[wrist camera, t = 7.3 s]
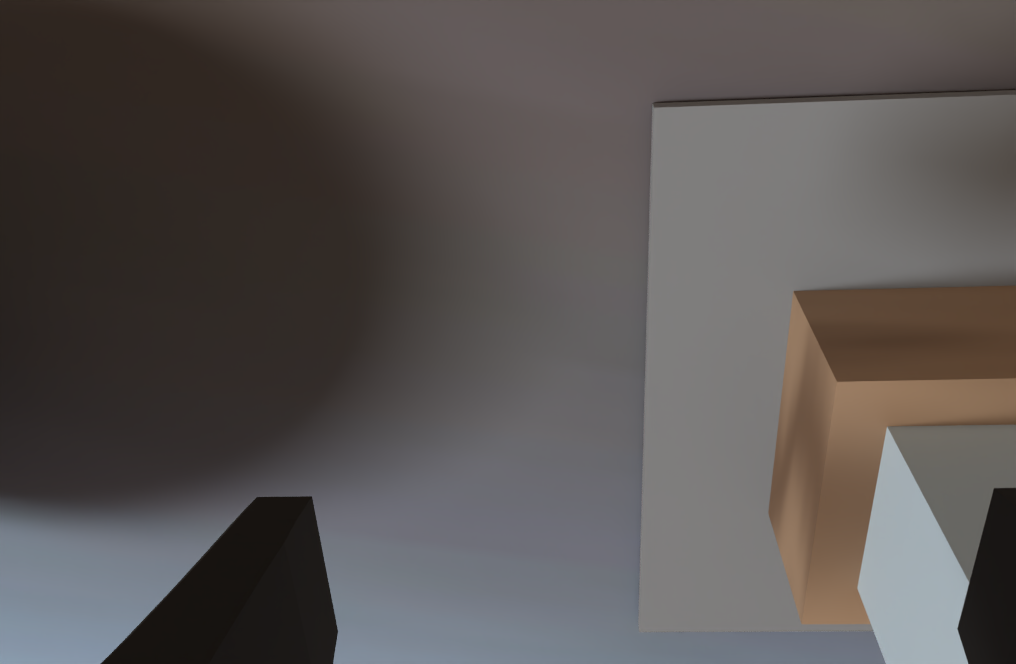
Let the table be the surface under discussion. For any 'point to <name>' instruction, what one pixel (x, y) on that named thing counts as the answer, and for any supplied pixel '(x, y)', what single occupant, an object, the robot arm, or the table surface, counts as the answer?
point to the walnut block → (873, 415)
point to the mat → (785, 303)
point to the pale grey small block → (929, 534)
